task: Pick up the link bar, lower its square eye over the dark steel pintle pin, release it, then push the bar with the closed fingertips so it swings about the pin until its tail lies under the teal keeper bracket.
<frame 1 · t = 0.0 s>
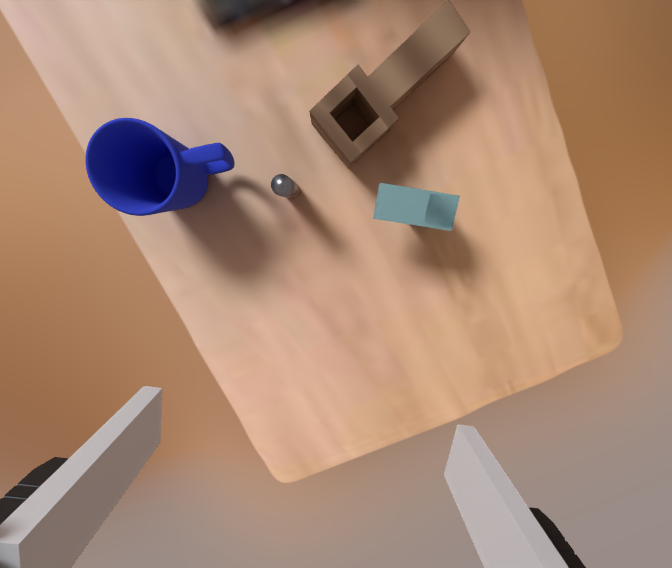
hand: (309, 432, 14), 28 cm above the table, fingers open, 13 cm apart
link: (441, 42, 36), on the table
pintle: (290, 189, 39), on the table
keeper: (420, 210, 40), on the table
mug: (198, 175, 38), on the table
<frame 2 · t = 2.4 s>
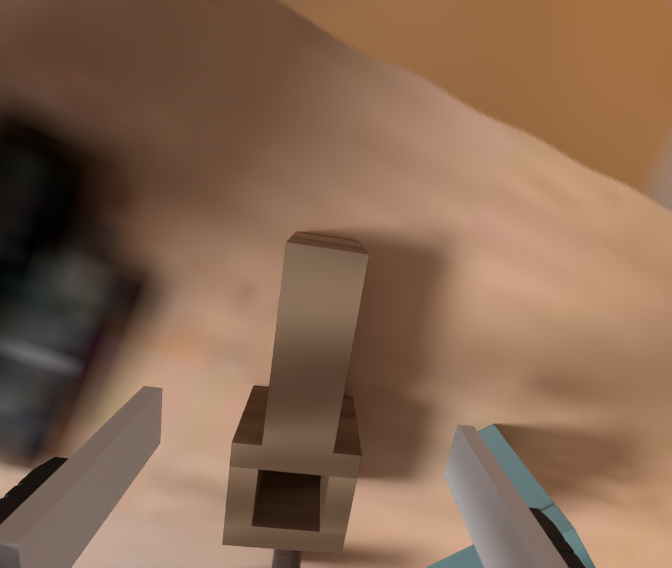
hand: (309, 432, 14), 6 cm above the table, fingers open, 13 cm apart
link: (326, 236, 18), on the table
pintle: (287, 550, 24), on the table
keeper: (482, 450, 22), on the table
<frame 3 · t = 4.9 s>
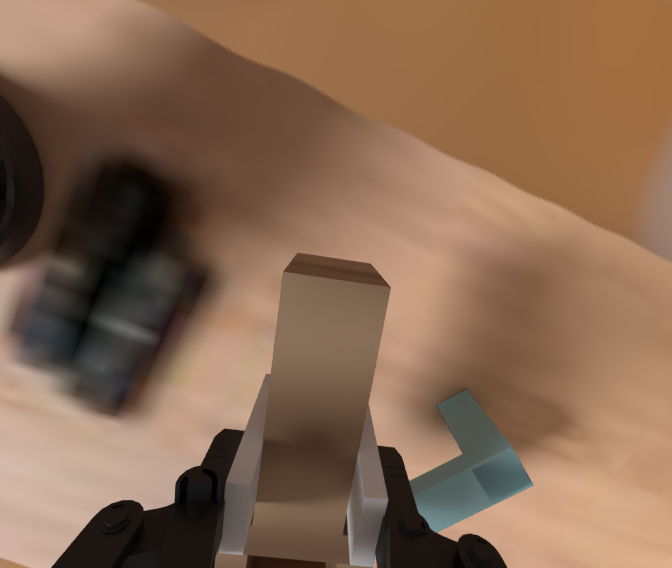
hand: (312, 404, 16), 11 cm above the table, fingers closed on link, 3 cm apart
link: (334, 258, 15), point 10 cm above the table, touching gripper
keeper: (459, 410, 29), on the table
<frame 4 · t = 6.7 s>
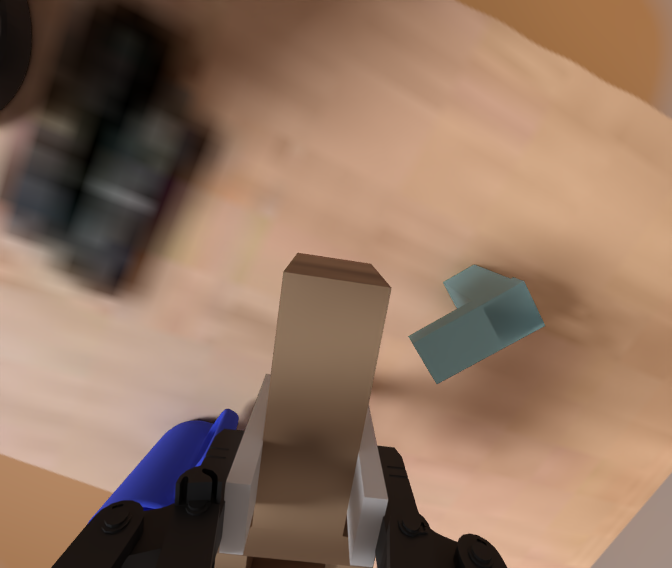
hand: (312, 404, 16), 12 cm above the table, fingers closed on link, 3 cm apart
link: (334, 258, 15), point 12 cm above the table, touching gripper
keeper: (465, 287, 28), on the table
mug: (212, 430, 31), on the table
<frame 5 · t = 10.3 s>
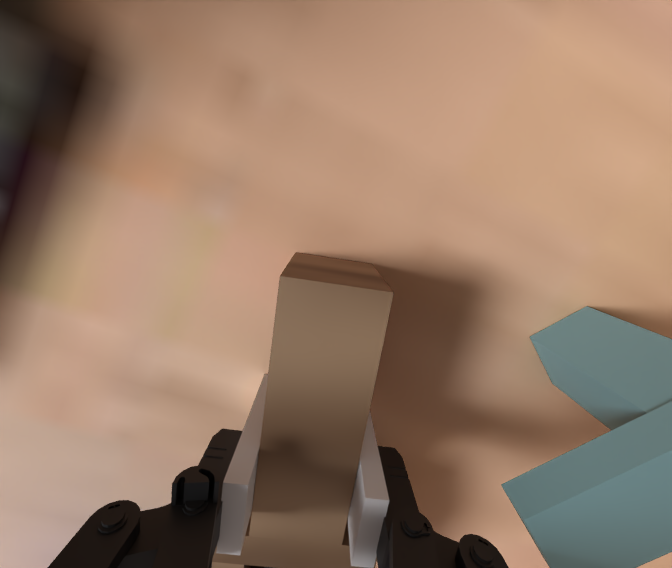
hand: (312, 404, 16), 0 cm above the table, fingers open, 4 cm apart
link: (334, 258, 15), on the table, touching gripper
keeper: (569, 346, 16), on the table
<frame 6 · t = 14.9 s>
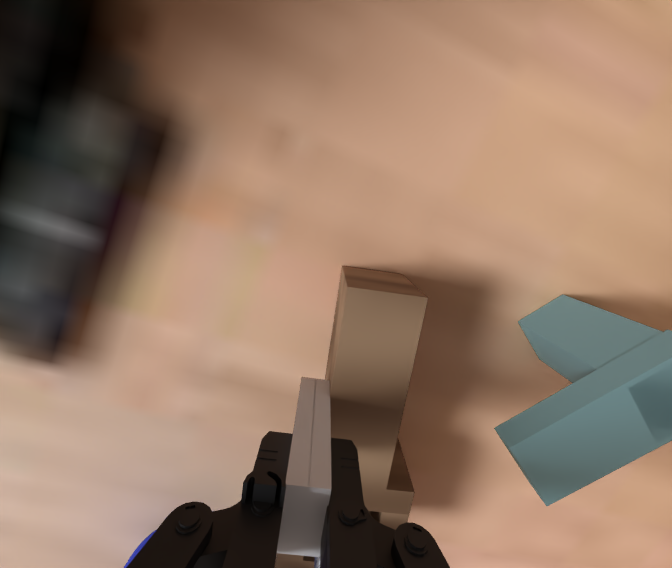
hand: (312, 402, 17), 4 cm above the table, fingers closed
link: (372, 270, 19), on the table, touching gripper
keeper: (550, 327, 20), on the table
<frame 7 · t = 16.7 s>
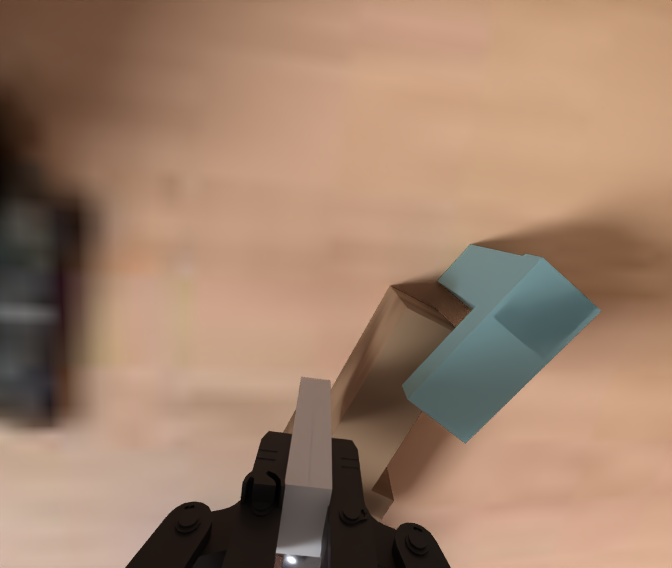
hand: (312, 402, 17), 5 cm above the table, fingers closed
link: (413, 298, 21), on the table
pintle: (313, 448, 23), on the table
keeper: (470, 277, 20), on the table
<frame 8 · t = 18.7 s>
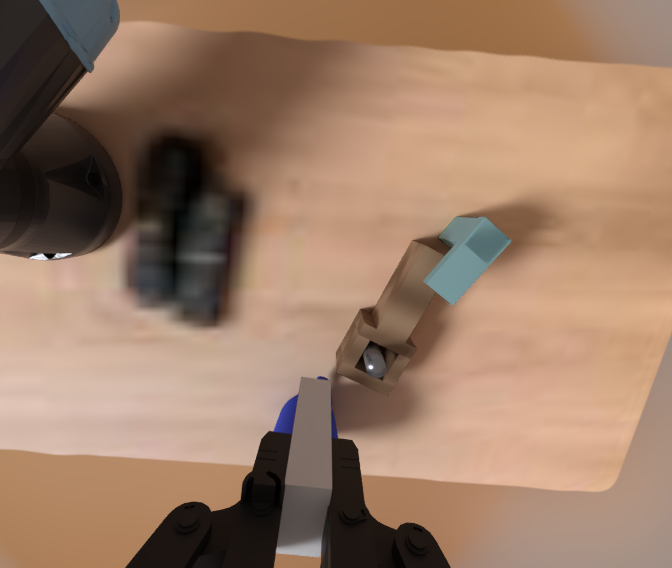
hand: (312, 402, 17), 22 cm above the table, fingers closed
link: (425, 247, 37), on the table
pintle: (367, 337, 40), on the table
keeper: (456, 235, 37), on the table
mug: (312, 399, 42), on the table
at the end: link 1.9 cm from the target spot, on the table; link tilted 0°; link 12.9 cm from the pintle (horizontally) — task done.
